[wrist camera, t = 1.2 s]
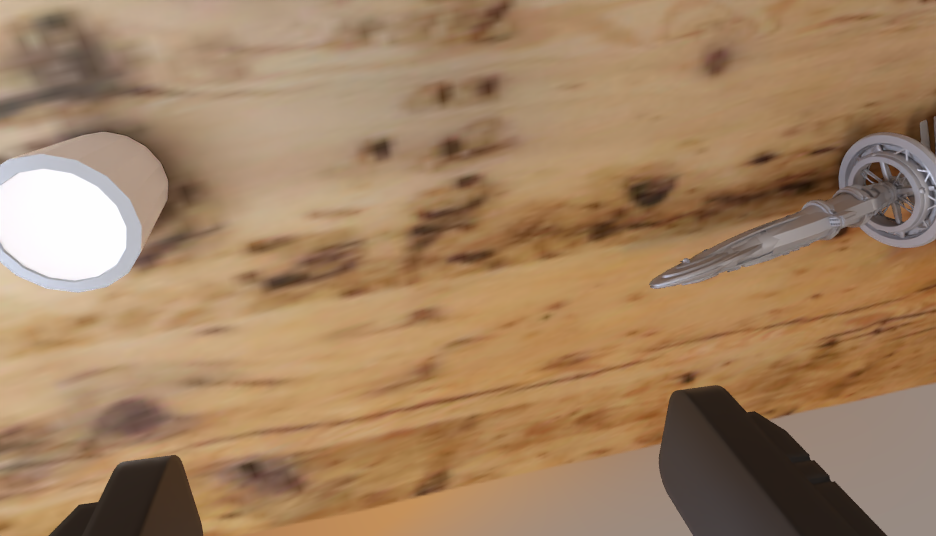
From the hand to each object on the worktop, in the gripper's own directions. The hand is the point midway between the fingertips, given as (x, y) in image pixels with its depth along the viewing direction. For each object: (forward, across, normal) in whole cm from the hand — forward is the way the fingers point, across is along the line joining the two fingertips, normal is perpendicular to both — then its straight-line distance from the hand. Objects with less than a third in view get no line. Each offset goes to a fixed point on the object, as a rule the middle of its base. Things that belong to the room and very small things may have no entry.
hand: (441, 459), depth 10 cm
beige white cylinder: (+28, +15, +3) cm, 31 cm away
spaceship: (+28, -33, +6) cm, 43 cm away
